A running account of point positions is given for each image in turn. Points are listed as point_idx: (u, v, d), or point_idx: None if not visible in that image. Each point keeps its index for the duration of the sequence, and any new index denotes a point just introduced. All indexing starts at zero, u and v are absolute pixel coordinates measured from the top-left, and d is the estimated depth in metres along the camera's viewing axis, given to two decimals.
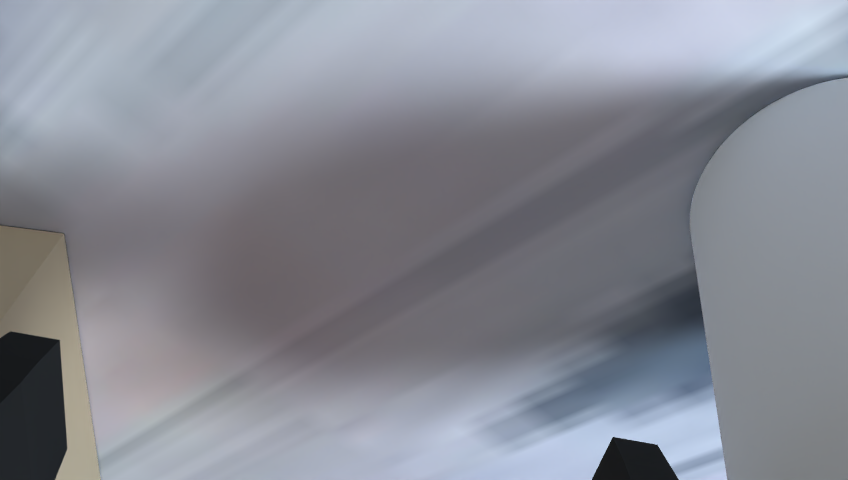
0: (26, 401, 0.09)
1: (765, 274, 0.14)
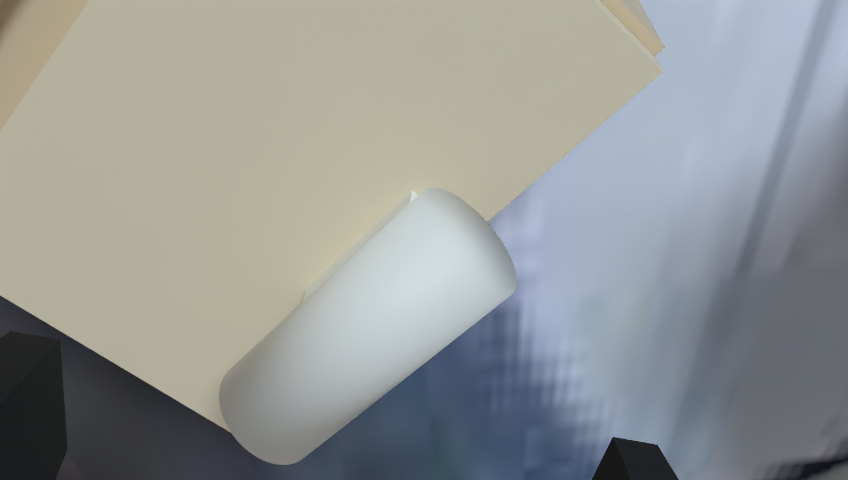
0: (26, 401, 0.09)
1: None
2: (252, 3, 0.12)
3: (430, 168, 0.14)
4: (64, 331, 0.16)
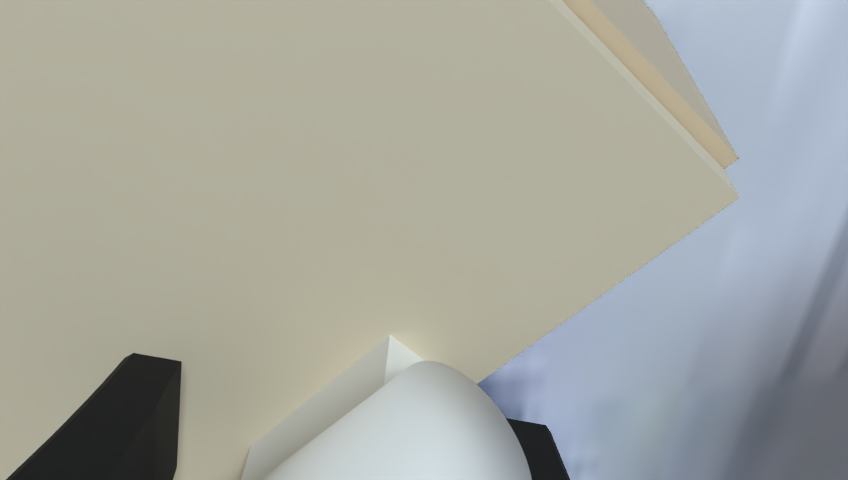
0: (157, 423, 0.09)
1: None
2: (165, 95, 0.09)
3: (415, 309, 0.10)
4: None
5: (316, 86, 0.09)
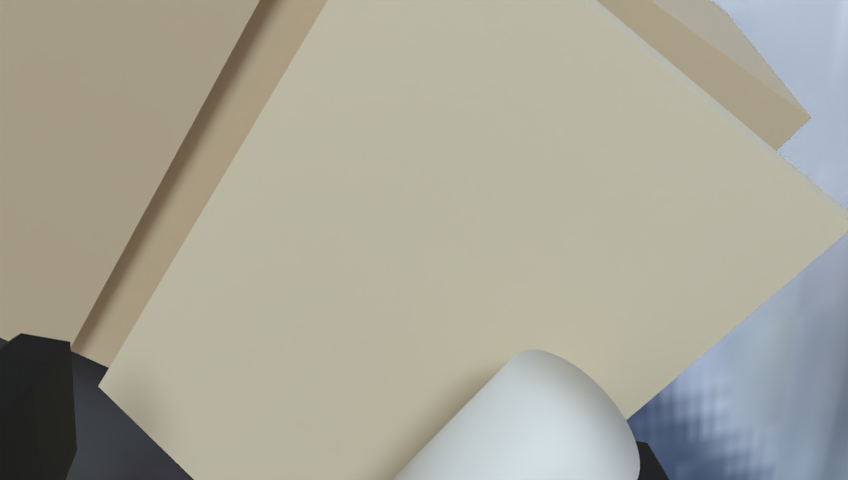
0: (37, 403, 0.09)
1: None
2: (377, 151, 0.12)
3: (565, 337, 0.12)
4: None
5: (480, 138, 0.11)
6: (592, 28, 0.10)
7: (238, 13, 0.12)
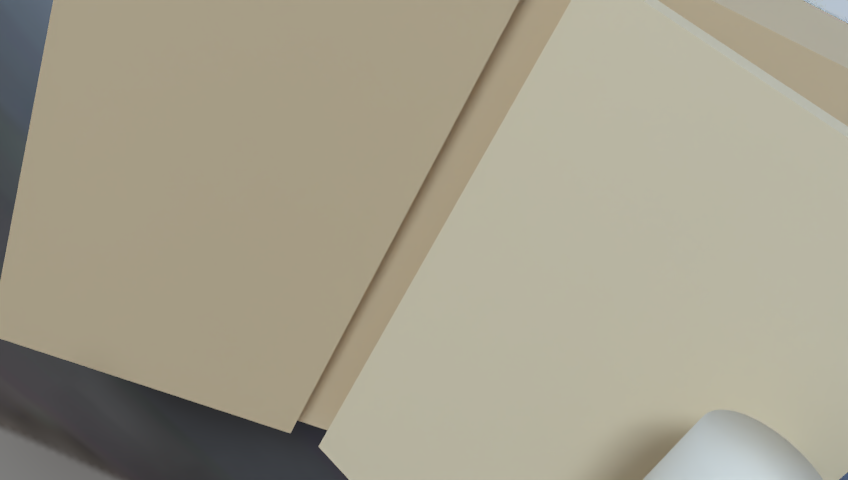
0: None
1: None
2: (566, 226, 0.13)
3: (759, 402, 0.12)
4: None
5: (663, 210, 0.12)
6: (768, 103, 0.11)
7: (445, 118, 0.13)
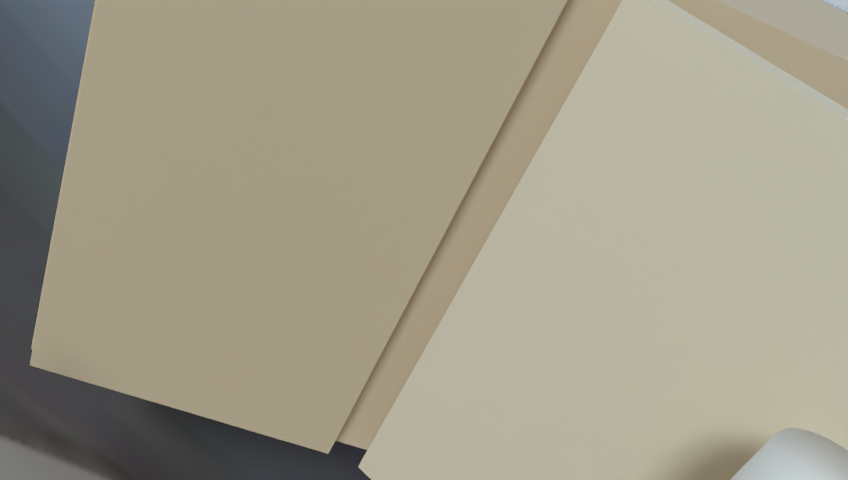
0: None
1: None
2: (611, 245, 0.13)
3: (815, 412, 0.12)
4: None
5: (711, 227, 0.12)
6: (818, 120, 0.11)
7: (481, 140, 0.13)
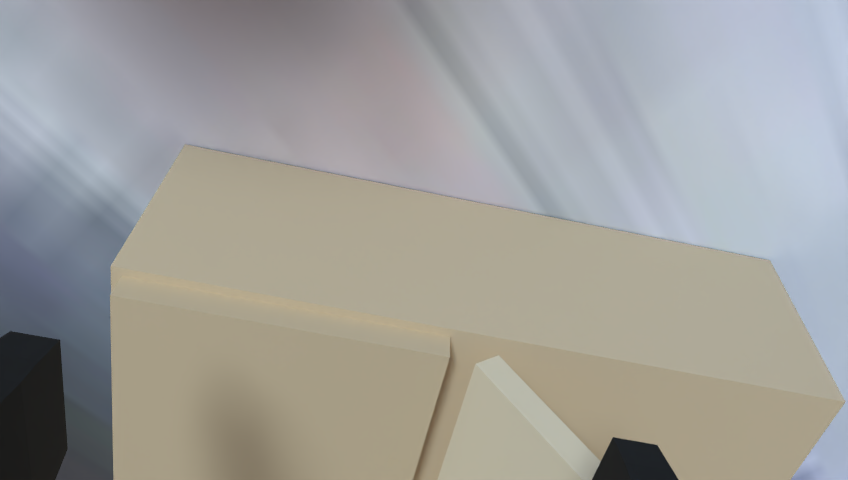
0: (26, 401, 0.09)
1: None
2: None
3: None
4: None
5: None
6: None
7: (409, 463, 0.17)
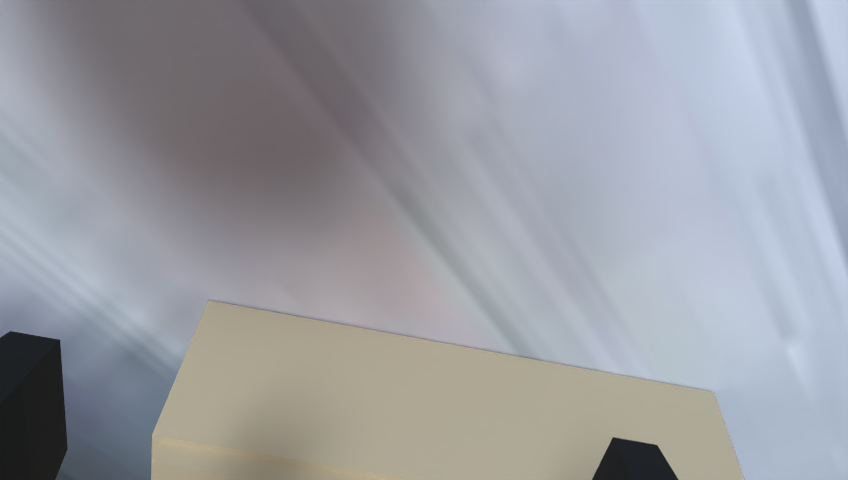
0: (26, 401, 0.09)
1: None
2: None
3: None
4: None
5: None
6: None
7: None
